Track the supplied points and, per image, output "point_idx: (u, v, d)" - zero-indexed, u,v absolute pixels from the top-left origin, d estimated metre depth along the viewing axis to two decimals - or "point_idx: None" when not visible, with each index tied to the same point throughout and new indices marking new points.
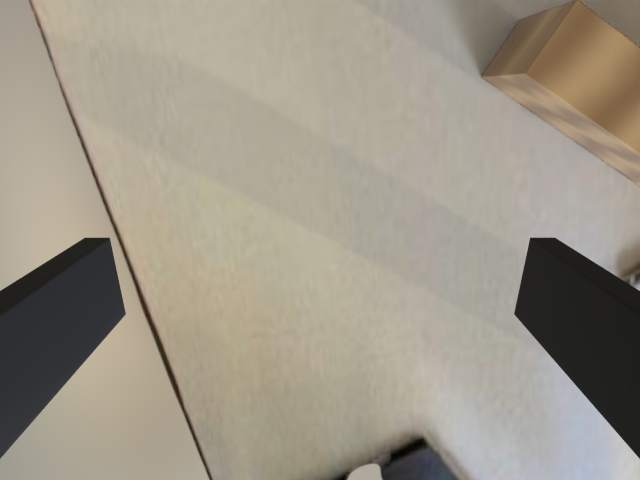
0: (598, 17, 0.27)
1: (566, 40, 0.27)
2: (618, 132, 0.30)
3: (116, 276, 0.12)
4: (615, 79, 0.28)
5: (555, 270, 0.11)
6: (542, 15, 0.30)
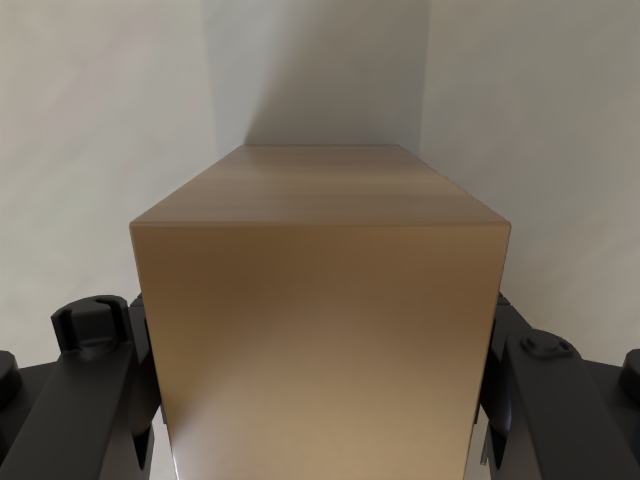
0: (483, 344, 0.06)
1: (347, 291, 0.06)
2: None
3: None
4: None
5: None
6: (417, 169, 0.09)
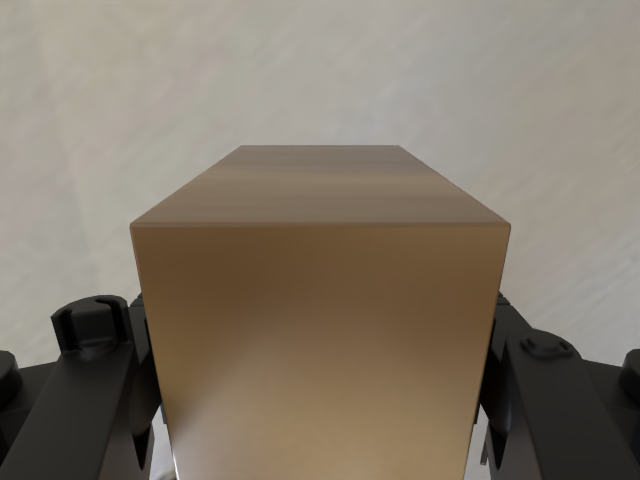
0: (483, 345, 0.06)
1: (347, 292, 0.06)
2: None
3: None
4: None
5: None
6: (417, 169, 0.09)
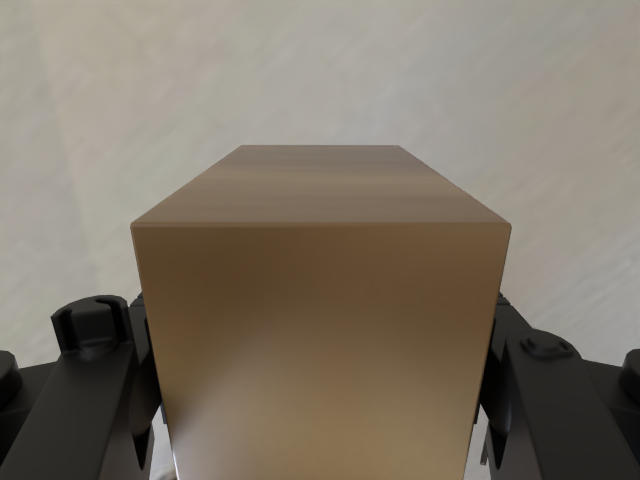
0: (483, 345, 0.06)
1: (347, 292, 0.06)
2: None
3: None
4: None
5: None
6: (417, 170, 0.09)
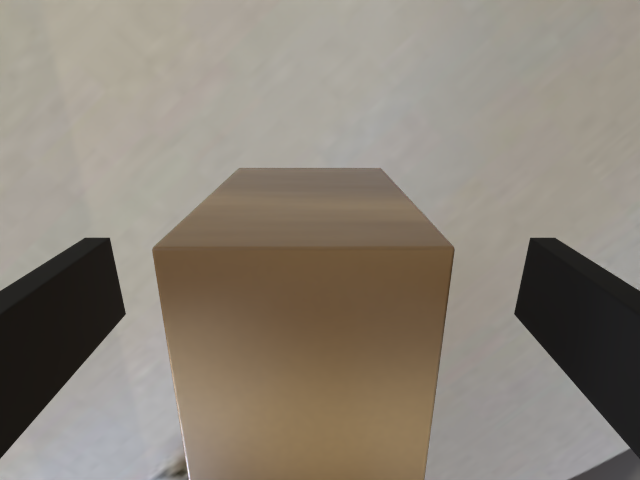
0: (437, 344, 0.08)
1: (326, 301, 0.07)
2: None
3: (116, 276, 0.12)
4: None
5: (555, 270, 0.11)
6: (391, 195, 0.11)
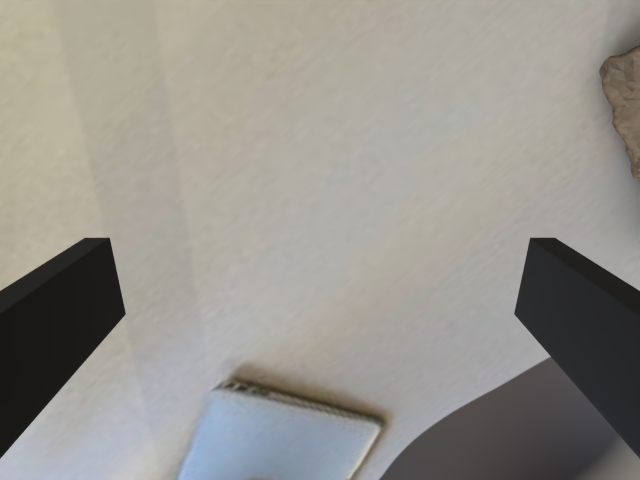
0: None
1: None
2: None
3: (116, 276, 0.12)
4: None
5: (555, 270, 0.11)
6: None
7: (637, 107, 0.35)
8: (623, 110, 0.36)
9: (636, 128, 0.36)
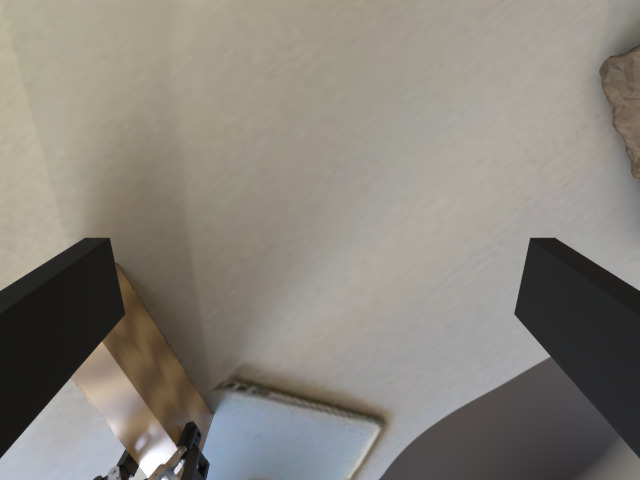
0: None
1: None
2: (81, 387, 0.40)
3: (116, 276, 0.12)
4: None
5: (555, 270, 0.11)
6: None
7: (637, 107, 0.35)
8: (623, 110, 0.36)
9: (636, 128, 0.36)
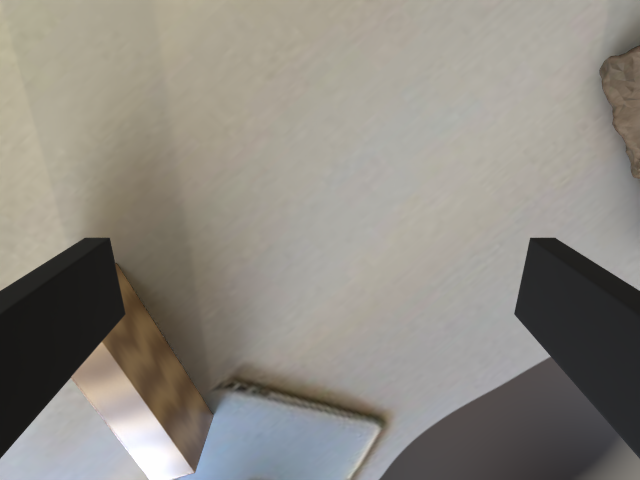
0: None
1: None
2: (81, 387, 0.40)
3: (116, 276, 0.12)
4: None
5: (555, 270, 0.11)
6: None
7: (637, 107, 0.35)
8: (623, 110, 0.36)
9: (636, 128, 0.36)
